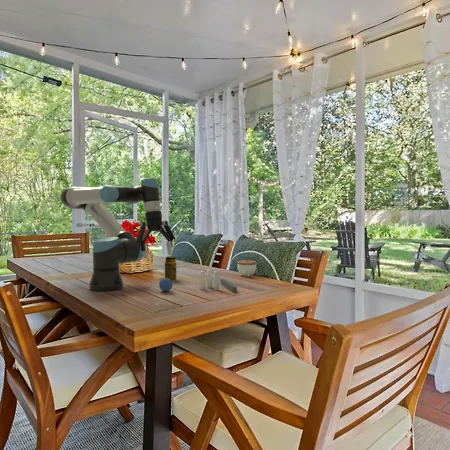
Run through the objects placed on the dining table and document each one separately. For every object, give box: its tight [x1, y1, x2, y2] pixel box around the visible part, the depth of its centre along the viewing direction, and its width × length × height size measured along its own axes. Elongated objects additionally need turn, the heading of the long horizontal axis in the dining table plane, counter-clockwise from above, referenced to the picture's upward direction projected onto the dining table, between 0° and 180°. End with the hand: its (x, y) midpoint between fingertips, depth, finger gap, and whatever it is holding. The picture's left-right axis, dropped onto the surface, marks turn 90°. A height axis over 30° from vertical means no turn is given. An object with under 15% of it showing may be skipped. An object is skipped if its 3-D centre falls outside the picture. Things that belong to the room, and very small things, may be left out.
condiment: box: [159, 255, 180, 282], centre depth 197 cm, size 7×8×12 cm
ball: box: [158, 277, 174, 292], centre depth 170 cm, size 6×6×6 cm
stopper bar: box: [220, 278, 238, 294], centre depth 178 cm, size 2×20×2 cm, turn 16°
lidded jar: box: [237, 258, 257, 277], centre depth 211 cm, size 11×11×9 cm
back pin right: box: [213, 270, 220, 291], centre depth 174 cm, size 2×2×8 cm
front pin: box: [199, 270, 206, 291], centre depth 174 cm, size 2×2×8 cm
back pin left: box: [206, 269, 213, 289], centre depth 178 cm, size 2×2×8 cm
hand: (158, 256), depth 174 cm, fingers open, 13 cm apart
